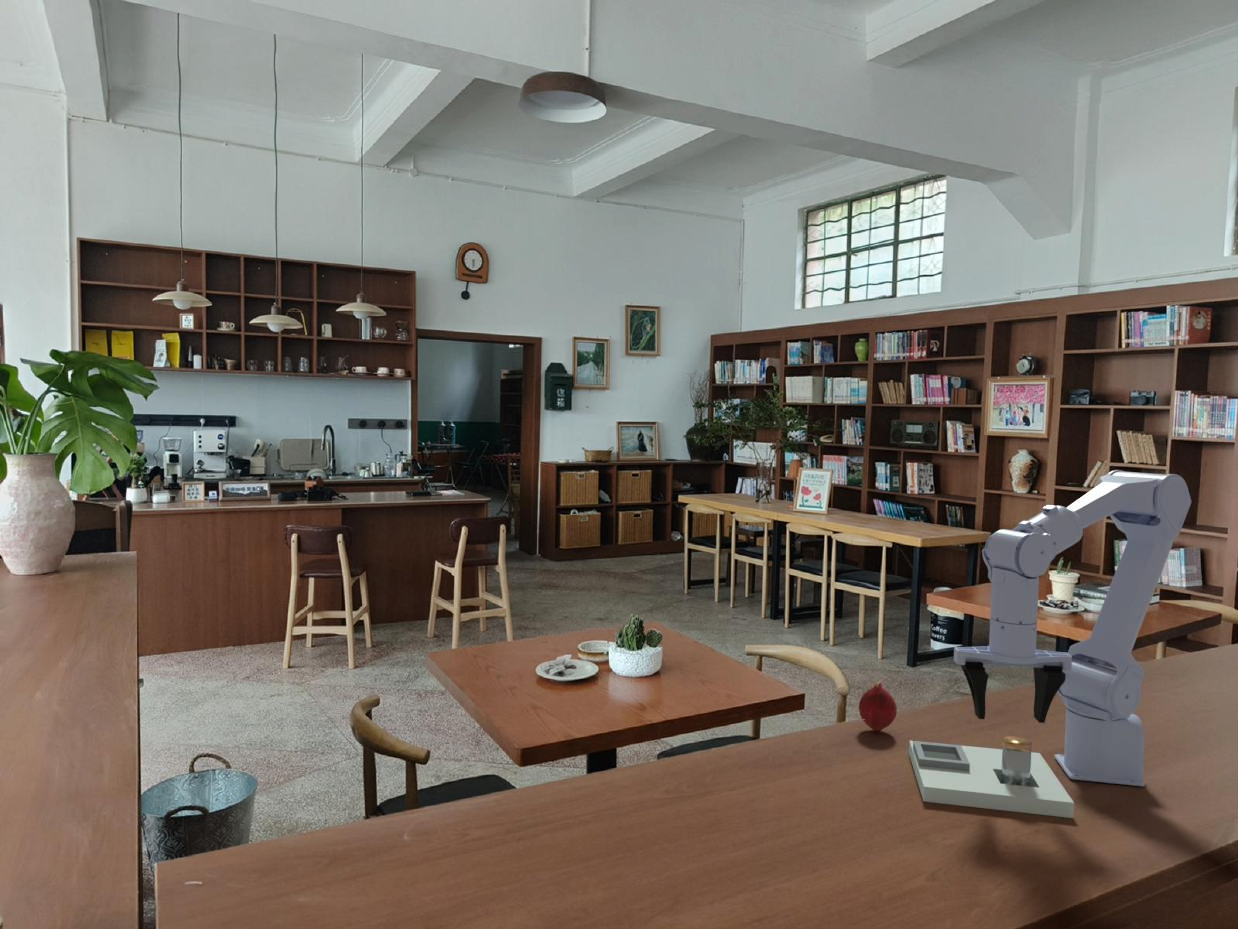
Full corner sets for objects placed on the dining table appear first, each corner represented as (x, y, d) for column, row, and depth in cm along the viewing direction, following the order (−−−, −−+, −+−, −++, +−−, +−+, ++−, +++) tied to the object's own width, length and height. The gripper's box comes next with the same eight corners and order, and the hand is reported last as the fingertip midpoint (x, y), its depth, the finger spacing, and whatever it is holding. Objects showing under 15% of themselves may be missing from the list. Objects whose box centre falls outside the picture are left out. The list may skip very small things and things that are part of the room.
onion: (897, 740, 130) (899, 689, 129) (859, 736, 131) (861, 687, 130) (893, 726, 135) (895, 678, 135) (856, 723, 136) (858, 675, 136)
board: (1039, 766, 120) (1039, 746, 120) (1073, 818, 105) (1074, 795, 105) (908, 753, 124) (909, 734, 124) (923, 801, 109) (924, 779, 109)
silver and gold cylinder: (1025, 788, 113) (1027, 737, 113) (1032, 800, 110) (1034, 747, 109) (998, 785, 114) (1000, 735, 113) (1003, 796, 110) (1006, 745, 110)
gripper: (1059, 614, 114) (1054, 711, 115) (949, 610, 116) (946, 705, 117) (1080, 627, 107) (1075, 730, 108) (963, 622, 109) (959, 723, 110)
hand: (1009, 718), depth 112 cm, fingers open, 7 cm apart
